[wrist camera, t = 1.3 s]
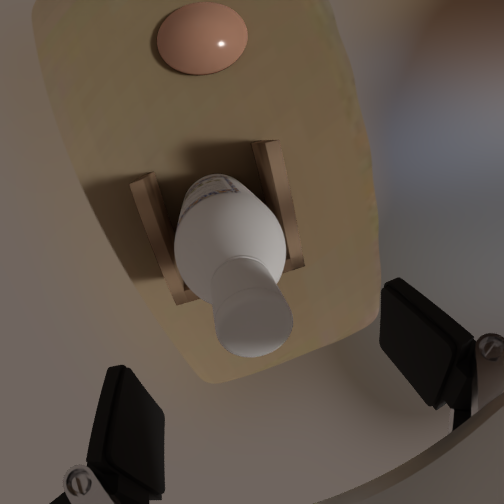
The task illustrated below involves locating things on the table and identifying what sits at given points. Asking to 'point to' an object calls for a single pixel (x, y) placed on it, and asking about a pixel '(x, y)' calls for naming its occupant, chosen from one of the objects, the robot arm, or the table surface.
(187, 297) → the shelf bay
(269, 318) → the bath foam
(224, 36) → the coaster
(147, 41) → the table surface
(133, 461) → the robot arm
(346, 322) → the table surface
